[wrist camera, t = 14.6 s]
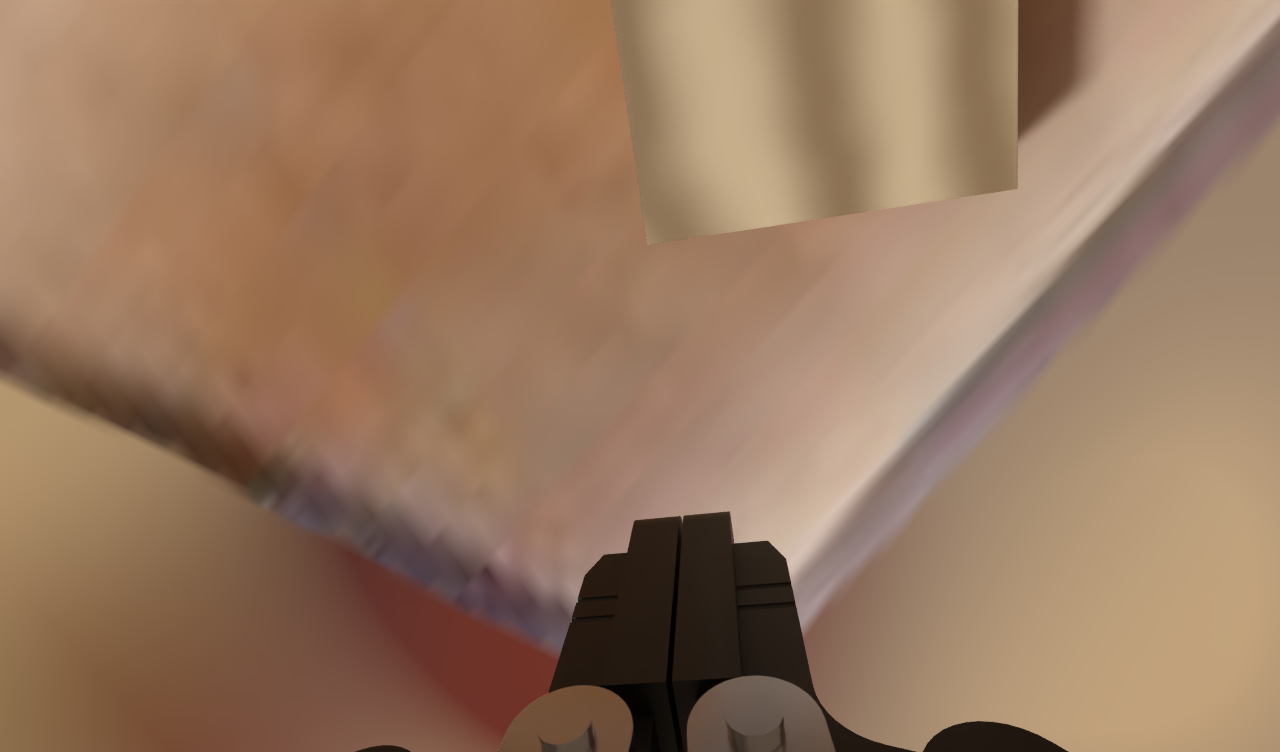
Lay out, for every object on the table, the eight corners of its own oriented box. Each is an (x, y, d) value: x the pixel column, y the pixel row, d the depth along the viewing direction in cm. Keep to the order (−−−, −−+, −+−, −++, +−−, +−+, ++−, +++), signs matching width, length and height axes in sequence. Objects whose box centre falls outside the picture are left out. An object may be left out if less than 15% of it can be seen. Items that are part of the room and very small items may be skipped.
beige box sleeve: (657, 234, 35) (647, 244, 30) (624, 14, 32) (607, -23, 27) (963, 188, 33) (1017, 188, 27) (959, -54, 30) (1018, -110, 24)
